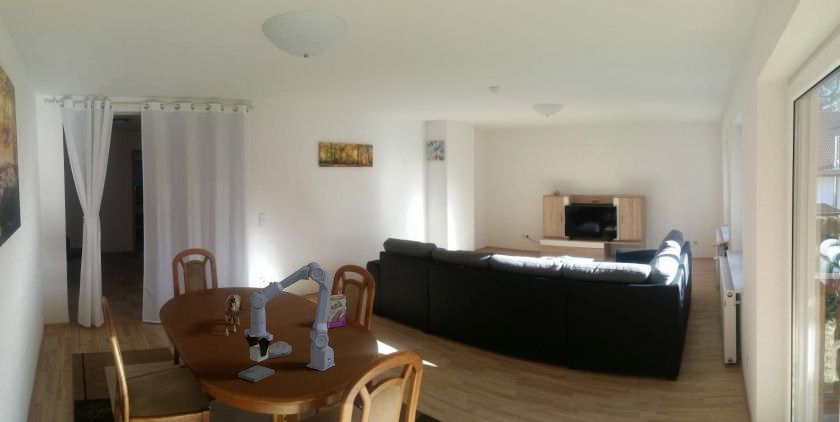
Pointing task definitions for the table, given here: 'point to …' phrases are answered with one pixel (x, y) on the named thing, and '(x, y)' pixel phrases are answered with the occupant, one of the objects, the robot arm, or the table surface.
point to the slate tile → (256, 373)
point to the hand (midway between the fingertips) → (258, 354)
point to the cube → (257, 354)
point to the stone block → (279, 349)
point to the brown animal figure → (232, 310)
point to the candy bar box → (337, 311)
